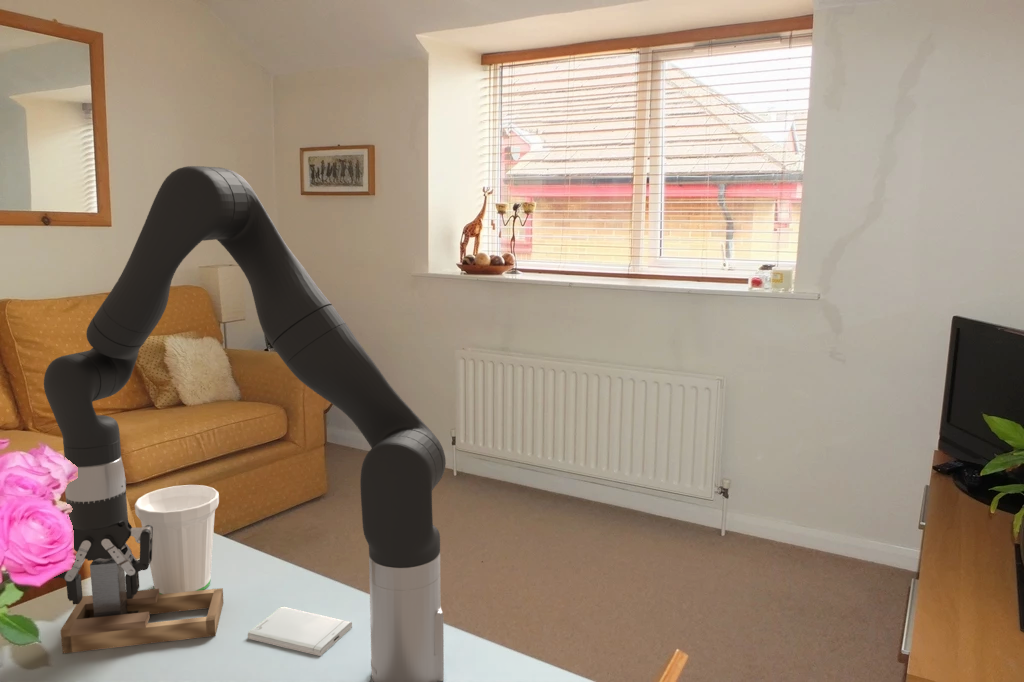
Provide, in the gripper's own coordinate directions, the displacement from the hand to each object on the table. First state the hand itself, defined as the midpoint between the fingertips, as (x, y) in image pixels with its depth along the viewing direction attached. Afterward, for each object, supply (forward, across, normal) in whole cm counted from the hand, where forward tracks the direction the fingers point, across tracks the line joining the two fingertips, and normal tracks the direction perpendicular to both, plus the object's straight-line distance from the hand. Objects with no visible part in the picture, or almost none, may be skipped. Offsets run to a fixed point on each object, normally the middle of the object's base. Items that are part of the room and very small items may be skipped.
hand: (104, 598), depth 111 cm
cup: (+5, +8, +12) cm, 16 cm away
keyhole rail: (+5, +6, 0) cm, 7 cm away
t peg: (+5, +1, 0) cm, 5 cm away
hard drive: (+6, +28, -7) cm, 29 cm away
